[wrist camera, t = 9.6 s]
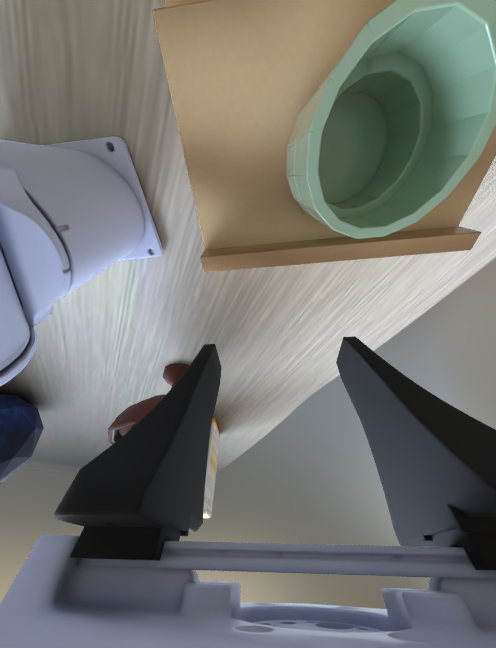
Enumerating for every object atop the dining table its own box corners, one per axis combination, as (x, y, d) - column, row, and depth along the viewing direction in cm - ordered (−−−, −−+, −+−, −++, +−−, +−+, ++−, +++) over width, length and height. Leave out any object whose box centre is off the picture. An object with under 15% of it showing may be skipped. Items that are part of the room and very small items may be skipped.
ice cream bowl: (166, 338, 24) (87, 490, 13) (232, 375, 29) (220, 513, 17) (131, 375, 29) (52, 511, 17) (193, 402, 34) (163, 524, 22)
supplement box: (190, 417, 37) (168, 510, 27) (215, 416, 37) (202, 510, 27) (199, 435, 42) (182, 519, 32) (220, 435, 42) (211, 519, 32)
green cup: (283, 221, 12) (301, 244, 8) (286, 80, 8) (319, -4, 4) (376, 211, 11) (444, 231, 7) (418, 61, 8) (581, -48, 4)
